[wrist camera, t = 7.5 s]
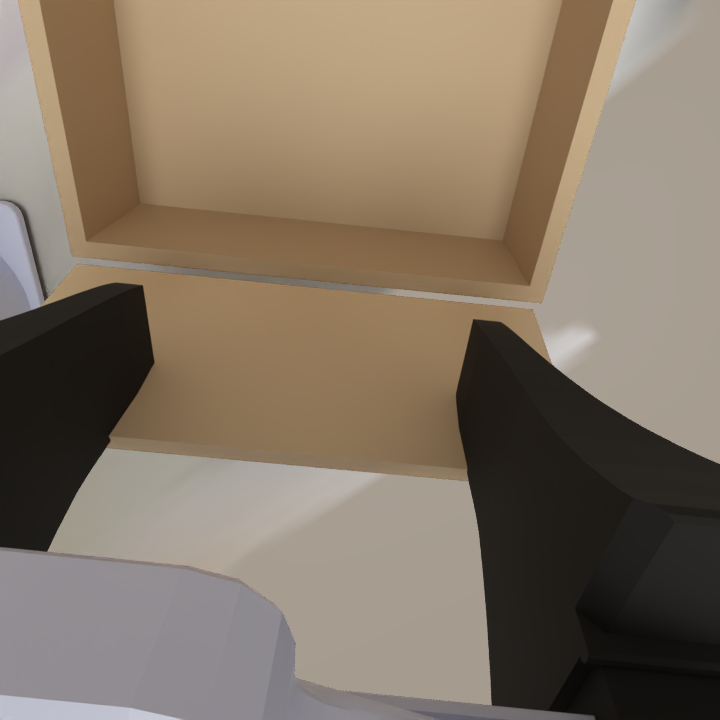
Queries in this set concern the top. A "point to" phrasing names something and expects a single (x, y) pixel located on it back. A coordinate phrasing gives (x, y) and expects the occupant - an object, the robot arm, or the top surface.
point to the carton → (326, 134)
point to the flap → (300, 373)
